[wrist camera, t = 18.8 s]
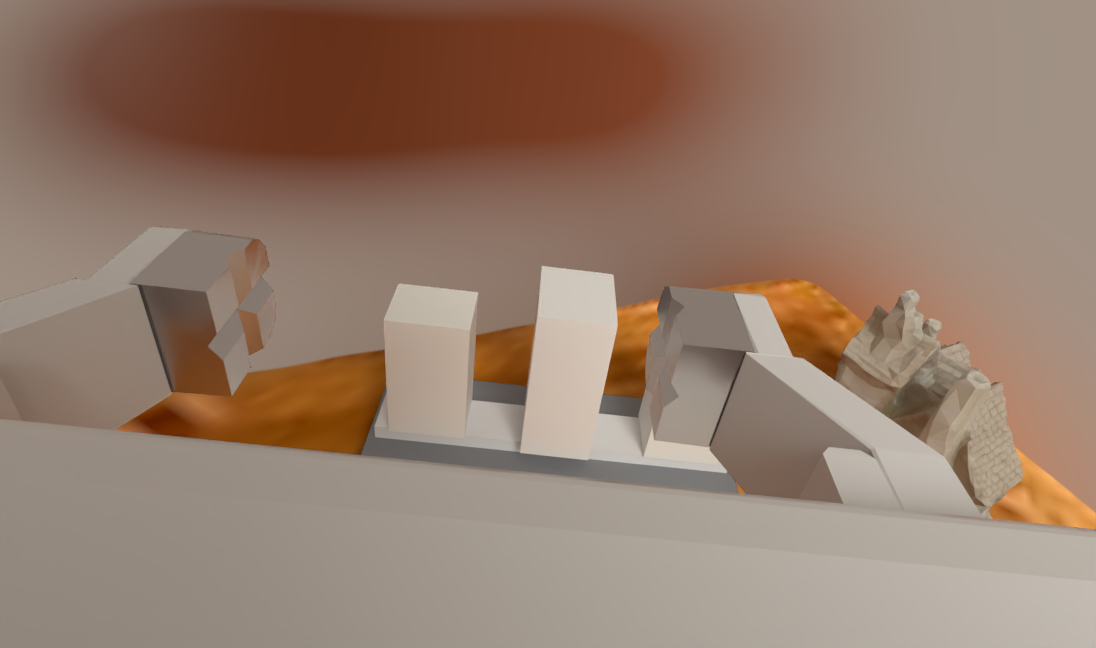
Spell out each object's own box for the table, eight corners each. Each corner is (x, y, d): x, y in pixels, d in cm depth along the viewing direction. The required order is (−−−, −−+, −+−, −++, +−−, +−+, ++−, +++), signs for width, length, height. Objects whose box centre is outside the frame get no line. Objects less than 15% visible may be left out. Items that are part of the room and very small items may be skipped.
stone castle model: (907, 586, 39) (1046, 400, 31) (750, 413, 52) (821, 249, 44) (1061, 537, 45) (1210, 371, 37) (887, 392, 58) (971, 244, 50)
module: (520, 452, 41) (537, 316, 35) (525, 395, 46) (542, 265, 39) (588, 460, 41) (617, 325, 35) (587, 402, 46) (613, 273, 40)
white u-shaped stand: (355, 489, 41) (341, 349, 34) (391, 386, 49) (386, 256, 42) (737, 527, 42) (797, 398, 35) (710, 419, 50) (754, 299, 43)
